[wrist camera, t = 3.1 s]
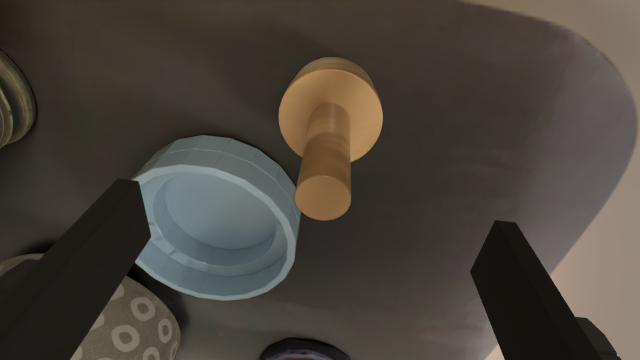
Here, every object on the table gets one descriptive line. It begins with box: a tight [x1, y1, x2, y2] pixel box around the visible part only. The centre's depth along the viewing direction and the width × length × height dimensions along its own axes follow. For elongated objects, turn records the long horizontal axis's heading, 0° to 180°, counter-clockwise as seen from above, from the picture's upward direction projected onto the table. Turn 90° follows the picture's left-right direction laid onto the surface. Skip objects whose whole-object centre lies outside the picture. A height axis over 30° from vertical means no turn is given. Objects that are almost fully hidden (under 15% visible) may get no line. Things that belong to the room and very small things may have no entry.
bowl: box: [131, 135, 301, 301], centre depth 28 cm, size 13×13×5 cm
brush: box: [278, 57, 383, 220], centre depth 20 cm, size 6×6×12 cm
